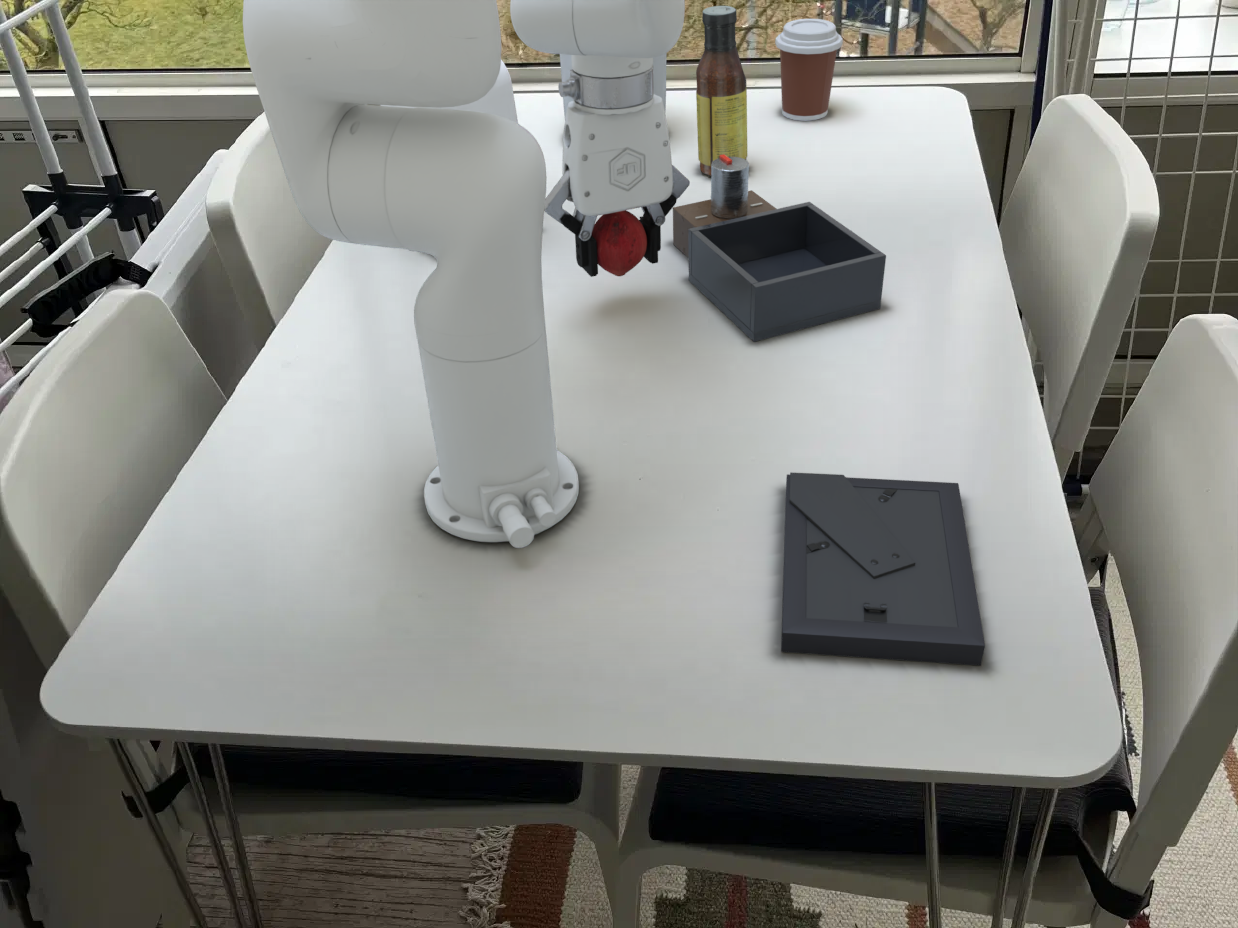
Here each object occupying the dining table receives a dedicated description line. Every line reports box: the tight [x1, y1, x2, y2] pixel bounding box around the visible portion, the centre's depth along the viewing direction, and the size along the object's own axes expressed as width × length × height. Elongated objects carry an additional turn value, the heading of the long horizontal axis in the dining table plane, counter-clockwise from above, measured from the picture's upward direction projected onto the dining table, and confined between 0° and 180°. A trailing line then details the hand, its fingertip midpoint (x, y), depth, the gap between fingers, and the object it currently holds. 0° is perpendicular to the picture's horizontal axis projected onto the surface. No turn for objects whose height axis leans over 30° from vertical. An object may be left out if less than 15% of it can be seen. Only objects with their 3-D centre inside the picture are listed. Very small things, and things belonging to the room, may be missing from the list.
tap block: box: [672, 190, 777, 259], centre depth 126 cm, size 8×10×5 cm
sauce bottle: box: [695, 5, 748, 177], centre depth 140 cm, size 6×6×20 cm
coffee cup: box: [774, 18, 844, 122], centre depth 158 cm, size 9×9×12 cm
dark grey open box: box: [688, 201, 887, 343], centre depth 117 cm, size 15×15×6 cm
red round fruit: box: [592, 210, 647, 277], centre depth 114 cm, size 6×6×8 cm
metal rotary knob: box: [710, 154, 750, 219], centre depth 123 cm, size 4×4×6 cm
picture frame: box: [780, 471, 986, 666], centre depth 83 cm, size 13×2×18 cm
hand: (619, 263), depth 116 cm, fingers closed on red round fruit, 5 cm apart
